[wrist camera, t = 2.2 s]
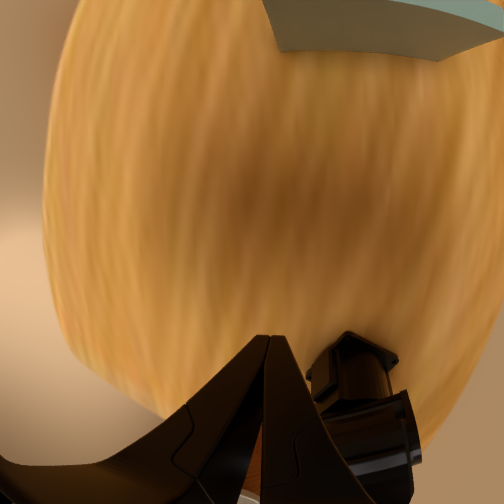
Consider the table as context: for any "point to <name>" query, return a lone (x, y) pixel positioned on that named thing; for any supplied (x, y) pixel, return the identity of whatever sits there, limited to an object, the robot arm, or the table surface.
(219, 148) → the table surface
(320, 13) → the teal plastic shell
